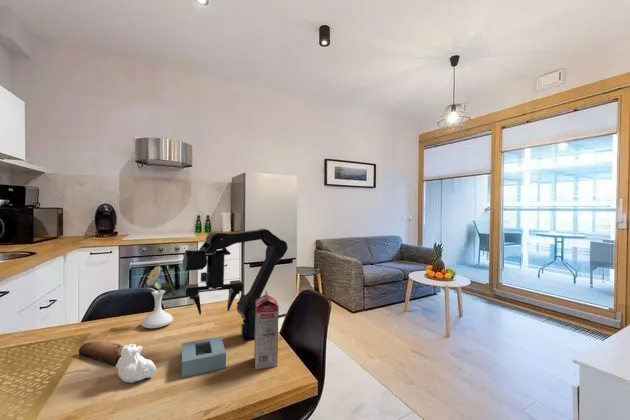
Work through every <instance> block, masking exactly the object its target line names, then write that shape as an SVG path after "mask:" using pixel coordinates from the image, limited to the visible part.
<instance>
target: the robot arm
mask: <svg viewBox="0 0 630 420" xmlns="http://www.w3.org/2000/svg"><path fill="white" fill-rule="evenodd" d="M253 241H261V242H262V243H263V244H264V245H265V246H266V249H265V258H264V261H263V263H262V264H261V266H260V268H259V271H258V272H257V274H256V277H255V279H254V281H253V283H252V285H251V287H250V290H249V291H248V292H247V293H246V294H243V293H241V292H244V283H243V282H242V281H241V280H240V279H239V280H230V281H229V283H225V284H224V282H225V281H224V280H225V256H229V255H231V252H230V251H229V250H228V249H227V248H229V247H231V246H233V245H236V244H240V243H247V242H253ZM288 246H289V245H288V243H287V242H286V241H285V240H283V239H281V238H279V237H278V236H276V235H275V234H274V233H272V232H271V231H270V230H269V229H267V228H259V229H253V230H246V231H245V230H244V231H236V232H223V231H221V232H220V231H212V232H209V233H208V235H206V238H205V241H204V243H202V245H201V246H200V248H199V249H196V250H191V249H186V250H184V254H183V258H182V268H183V269H182V270H183V271H184V272H190V271H192V272H193V271H199V270H201V271H202V270H203V269H204V268H206V272H200V282H201V283H205V285H203V286H199V284H198V283H193V284H191V283H190V284H186V286H185V289H184V290H185V294H184V295H185V298H189V300H193V301H194V303H195V305H196V307H197V311H198V314H199V316H200V315H201V314H202V308H201V298H200V297H201V296H200V293H204V292H214V291H215V292H216V291H226V290H228V298H227V306H226V309H227V312H229V311H230V309H231V306H232V304H233V303H234V300H235V298H236V296H237V295H240V293H241V295H240V297H239V300H238V301H237V303H236V311H237V313H238V315H240V316H241V318H242V323H241V325H240V326H241V327H240V328H241V329H240V337H242V339H243V340H244V341H245V342H246V341H251V340H255V308H256V300H257V299H258V298H260V297H262V294H263V292H264V291H265V288H266V286H267V284H268V281H269V279H270V277H271V275H272V273H273V271H274V269H275V267H276V264H277V263H278V262H279V261H280V260H281V259H283V257H284V256H285V254H286V253H287V251H288V249H289V248H288Z"/></svg>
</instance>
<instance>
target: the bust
mask: <svg viewBox="0 0 630 420" xmlns="http://www.w3.org/2000/svg"><path fill="white" fill-rule="evenodd" d="M143 350H144V349H143V346H142V345H136V344H135V343H129V344H124V345H123V348H122V351H121V357H120V358H119V360H118V363H117V365H115V367H116V368H117V372H118V377H119V378H120V379H121V380H122V381H123V382H125V383H128V384H129V383H130V384H133V383H136V382H140V381H142V380H143V379H149V378H153V377H154V376H155V374H156V373H157V368H156V365H155V364H154V362H153V361H152V360H151V359H147V358H145V357H144V356H142V355H141V354H140V353H141V351H143Z"/></svg>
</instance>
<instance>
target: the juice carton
mask: <svg viewBox="0 0 630 420" xmlns="http://www.w3.org/2000/svg"><path fill="white" fill-rule="evenodd" d="M278 346H279V304H278V301H277V299H276V298H275V297H273V296H271V295H269V294H268V292H267V290H265V294H264V295H261V297H260V298H258V299H257V300H256V308H255V339H254V351H253V352H254V354H253V357H254V369H255V370H261V369H265V368H275V367H276V368H277V367H278V355H279V354H278V349H279V347H278Z"/></svg>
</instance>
